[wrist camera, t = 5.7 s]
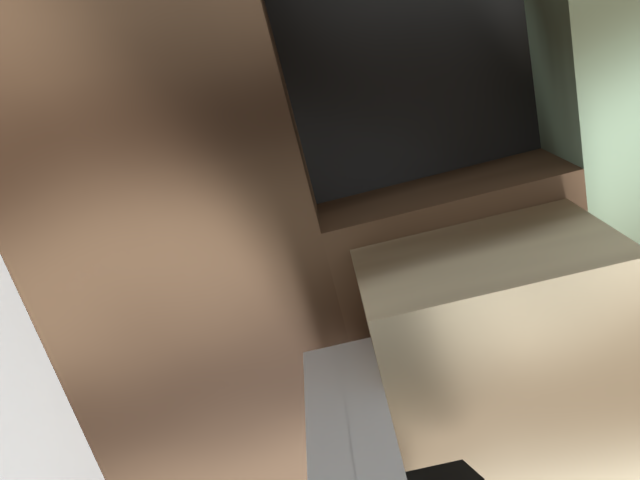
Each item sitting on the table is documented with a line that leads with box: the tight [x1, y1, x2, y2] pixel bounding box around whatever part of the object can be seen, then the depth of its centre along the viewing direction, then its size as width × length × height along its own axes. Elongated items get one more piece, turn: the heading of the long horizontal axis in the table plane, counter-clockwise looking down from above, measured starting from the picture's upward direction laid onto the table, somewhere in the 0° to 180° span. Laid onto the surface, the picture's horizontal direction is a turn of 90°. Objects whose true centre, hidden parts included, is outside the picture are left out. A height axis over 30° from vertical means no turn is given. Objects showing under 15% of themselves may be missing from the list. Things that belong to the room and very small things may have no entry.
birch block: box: [350, 198, 640, 480], centre depth 13 cm, size 5×5×4 cm
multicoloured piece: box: [0, 0, 640, 480], centre depth 15 cm, size 20×19×4 cm
